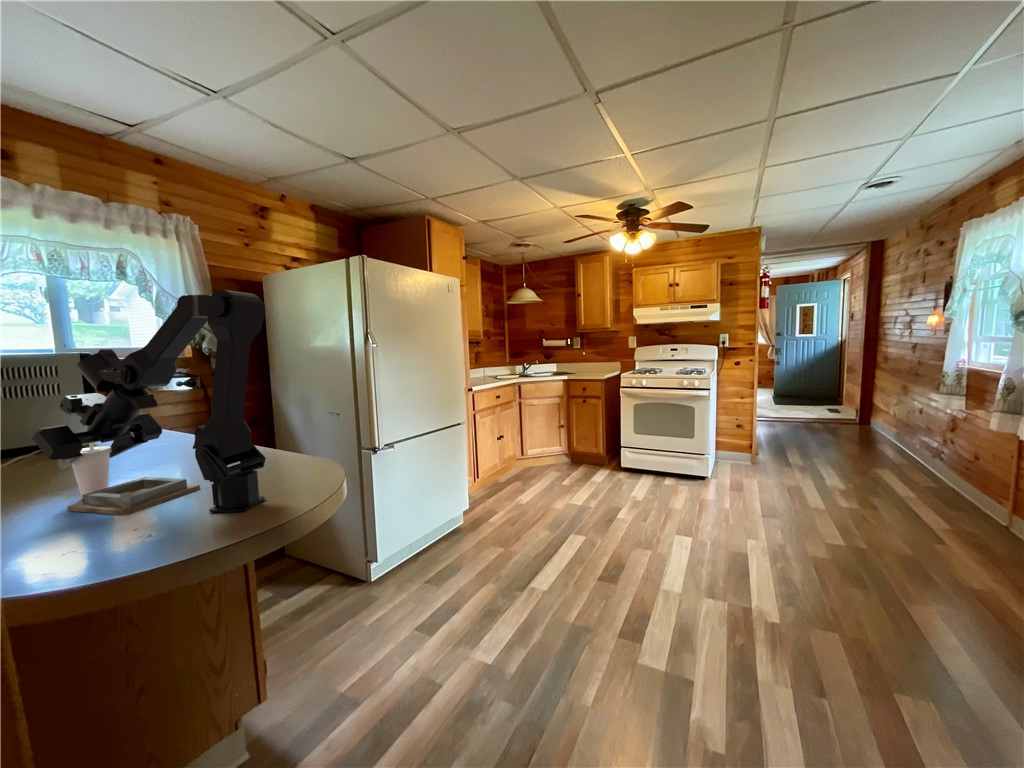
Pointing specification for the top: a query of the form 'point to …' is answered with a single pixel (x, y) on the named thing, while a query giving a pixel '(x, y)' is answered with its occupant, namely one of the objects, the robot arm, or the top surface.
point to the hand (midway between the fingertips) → (85, 461)
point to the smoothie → (92, 469)
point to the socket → (133, 495)
